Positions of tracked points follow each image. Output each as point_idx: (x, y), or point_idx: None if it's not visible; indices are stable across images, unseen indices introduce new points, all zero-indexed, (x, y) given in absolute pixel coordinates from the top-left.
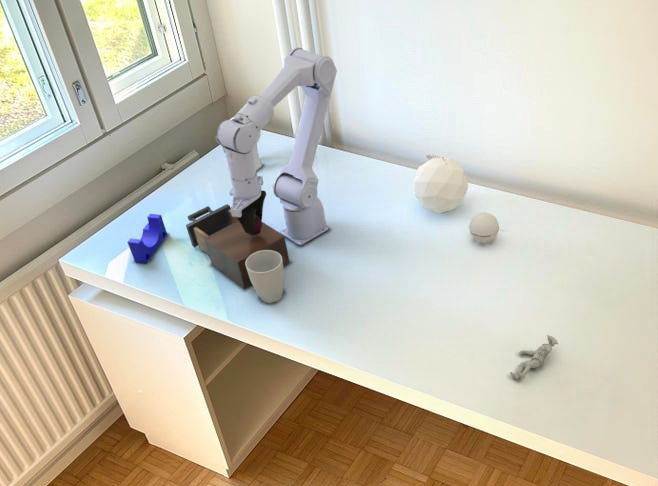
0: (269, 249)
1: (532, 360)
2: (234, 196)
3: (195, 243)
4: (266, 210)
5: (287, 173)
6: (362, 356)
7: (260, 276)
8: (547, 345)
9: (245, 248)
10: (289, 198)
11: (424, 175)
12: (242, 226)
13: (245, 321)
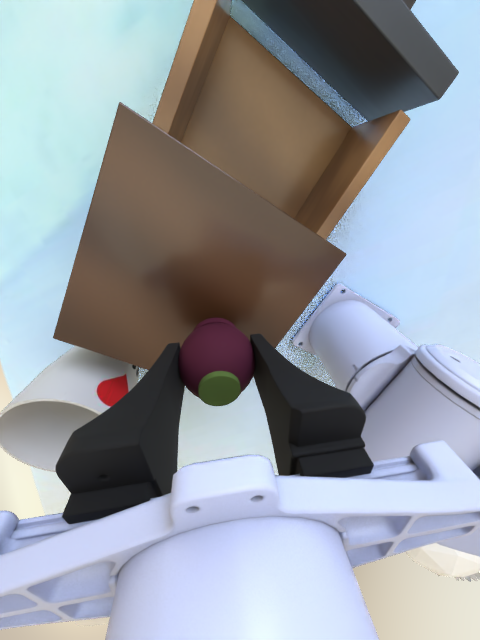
0: None
1: None
2: (126, 555)
3: None
4: (454, 194)
5: None
6: (59, 496)
7: (15, 437)
8: None
9: (135, 328)
10: (378, 423)
11: (440, 548)
12: (154, 363)
13: (3, 339)
